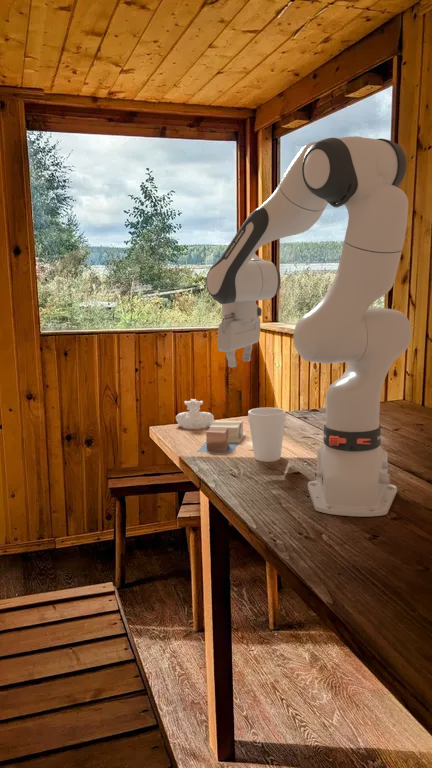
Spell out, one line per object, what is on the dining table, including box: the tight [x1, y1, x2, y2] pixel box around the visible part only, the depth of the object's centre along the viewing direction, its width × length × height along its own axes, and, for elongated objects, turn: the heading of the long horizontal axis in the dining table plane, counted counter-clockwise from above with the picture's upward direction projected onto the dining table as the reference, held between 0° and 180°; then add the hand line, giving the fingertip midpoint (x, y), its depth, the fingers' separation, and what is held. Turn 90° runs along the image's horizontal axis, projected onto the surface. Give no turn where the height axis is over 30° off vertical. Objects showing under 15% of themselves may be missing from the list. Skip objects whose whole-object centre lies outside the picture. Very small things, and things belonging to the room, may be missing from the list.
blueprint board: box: [196, 433, 247, 454], centre depth 167 cm, size 20×10×1 cm, turn 167°
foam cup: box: [247, 407, 287, 463], centre depth 151 cm, size 10×9×13 cm
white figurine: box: [175, 398, 215, 430], centre depth 185 cm, size 12×8×11 cm
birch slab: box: [209, 419, 244, 442], centre depth 172 cm, size 8×8×4 cm
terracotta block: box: [205, 427, 229, 451], centre depth 162 cm, size 5×5×5 cm
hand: (239, 364), depth 158 cm, fingers open, 8 cm apart
